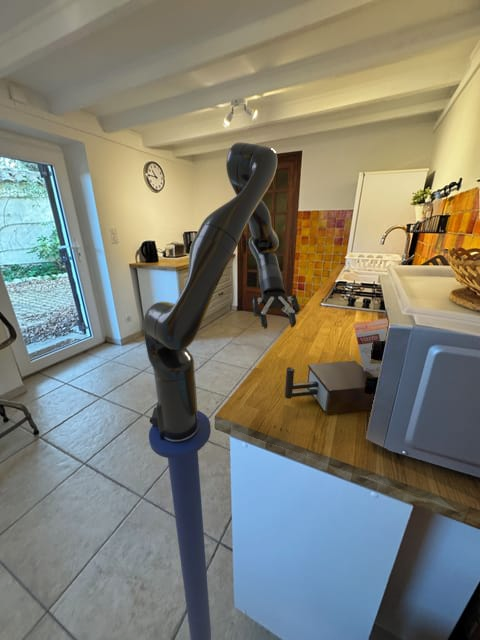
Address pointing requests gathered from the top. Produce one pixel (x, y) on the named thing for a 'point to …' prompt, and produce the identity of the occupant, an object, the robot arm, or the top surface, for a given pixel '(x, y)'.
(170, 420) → the robot arm
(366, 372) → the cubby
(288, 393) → the drawer
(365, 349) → the cracker box
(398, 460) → the top surface
